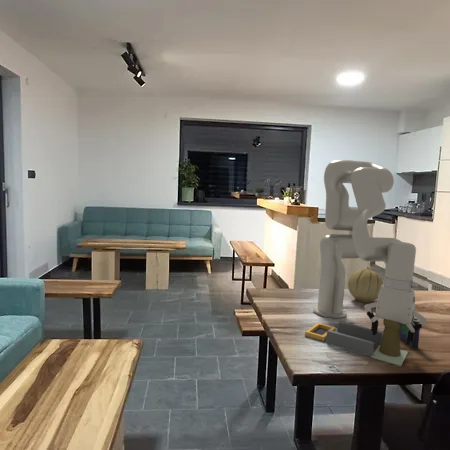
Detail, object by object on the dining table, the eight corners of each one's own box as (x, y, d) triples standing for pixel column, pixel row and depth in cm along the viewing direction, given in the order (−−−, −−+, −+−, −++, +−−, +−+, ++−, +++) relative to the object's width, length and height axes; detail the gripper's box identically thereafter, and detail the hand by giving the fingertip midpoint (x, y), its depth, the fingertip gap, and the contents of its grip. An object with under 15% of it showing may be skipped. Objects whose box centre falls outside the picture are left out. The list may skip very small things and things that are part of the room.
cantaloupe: (348, 304, 158) (351, 270, 156) (345, 294, 172) (347, 263, 171) (385, 308, 155) (388, 273, 153) (378, 298, 169) (381, 266, 167)
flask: (395, 337, 124) (398, 306, 123) (403, 337, 124) (406, 306, 123) (412, 349, 115) (416, 316, 114) (421, 349, 115) (425, 316, 114)
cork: (398, 358, 107) (402, 322, 106) (376, 352, 110) (380, 317, 109) (402, 351, 112) (406, 317, 110) (381, 346, 115) (384, 312, 114)
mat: (380, 345, 117) (380, 344, 117) (407, 353, 112) (408, 351, 112) (371, 357, 108) (371, 356, 108) (400, 366, 103) (401, 364, 103)
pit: (317, 326, 130) (317, 322, 130) (335, 331, 126) (335, 327, 126) (304, 336, 121) (305, 331, 121) (323, 341, 117) (324, 337, 117)
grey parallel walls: (338, 332, 126) (339, 320, 126) (381, 343, 118) (382, 331, 117) (326, 343, 116) (327, 331, 116) (371, 356, 108) (373, 343, 108)
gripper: (432, 287, 106) (425, 343, 109) (370, 275, 116) (365, 327, 119) (428, 292, 100) (421, 351, 102) (364, 280, 110) (358, 334, 112)
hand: (391, 338), depth 111 cm, fingers open, 9 cm apart
